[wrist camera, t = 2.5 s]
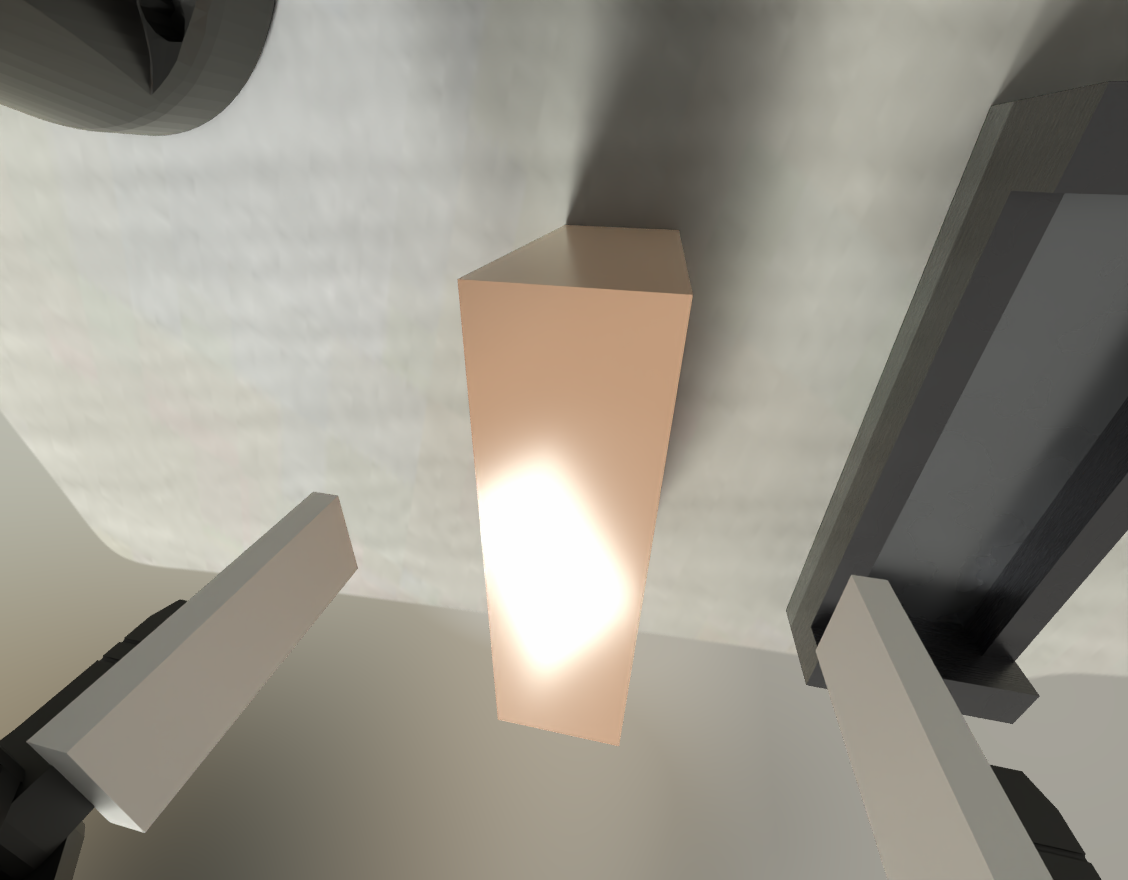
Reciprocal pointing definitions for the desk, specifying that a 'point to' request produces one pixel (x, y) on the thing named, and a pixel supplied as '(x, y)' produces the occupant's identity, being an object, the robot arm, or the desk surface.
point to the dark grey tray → (997, 408)
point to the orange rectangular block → (571, 459)
